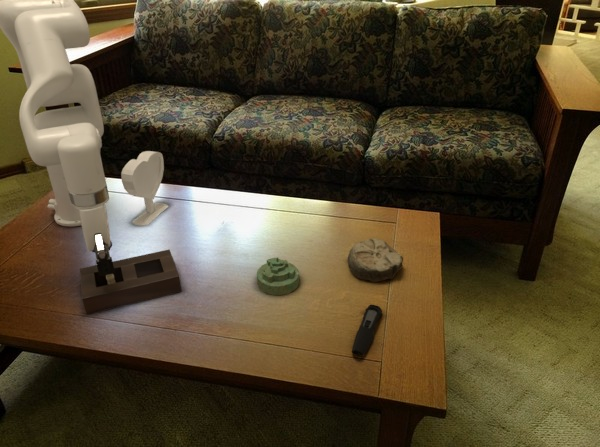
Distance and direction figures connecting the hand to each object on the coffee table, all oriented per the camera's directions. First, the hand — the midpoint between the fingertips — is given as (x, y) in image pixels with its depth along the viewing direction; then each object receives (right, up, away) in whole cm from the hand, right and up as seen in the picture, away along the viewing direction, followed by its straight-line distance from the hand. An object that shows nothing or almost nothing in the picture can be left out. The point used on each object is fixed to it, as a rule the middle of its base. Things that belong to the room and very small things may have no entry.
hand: (105, 262), depth 116 cm
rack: (+4, -6, +6) cm, 10 cm away
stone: (+62, -3, +13) cm, 64 cm away
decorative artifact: (+38, -6, +8) cm, 40 cm away
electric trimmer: (+58, -15, -7) cm, 60 cm away
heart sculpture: (0, +11, +36) cm, 38 cm away
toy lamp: (0, -8, +5) cm, 9 cm away
